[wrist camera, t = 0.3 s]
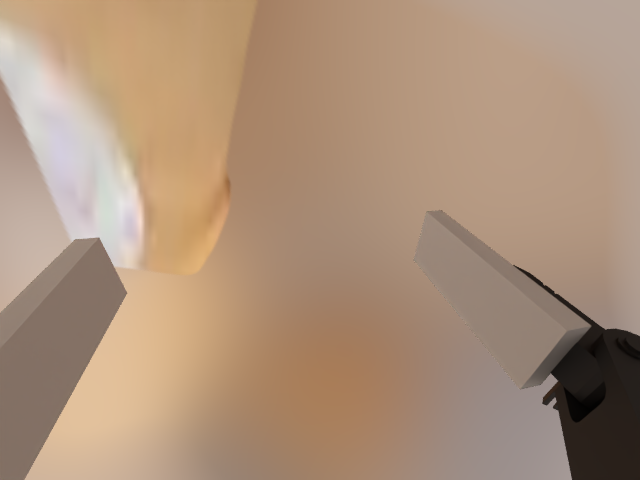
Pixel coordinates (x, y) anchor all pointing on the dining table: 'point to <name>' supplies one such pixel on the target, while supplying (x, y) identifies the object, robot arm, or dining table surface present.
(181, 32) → the dining table surface
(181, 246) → the dining table surface
